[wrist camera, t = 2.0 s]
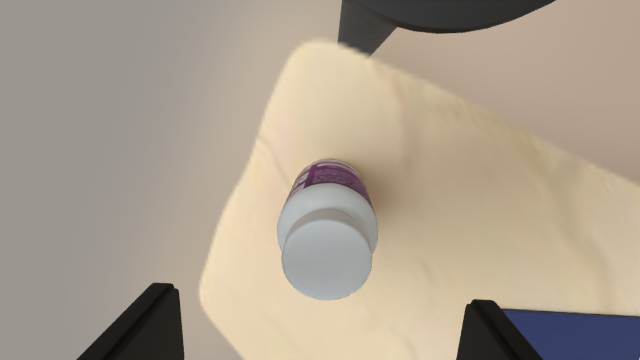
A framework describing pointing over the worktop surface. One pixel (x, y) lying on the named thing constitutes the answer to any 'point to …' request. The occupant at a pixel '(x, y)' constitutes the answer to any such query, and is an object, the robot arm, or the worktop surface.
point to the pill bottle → (327, 231)
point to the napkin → (579, 335)
